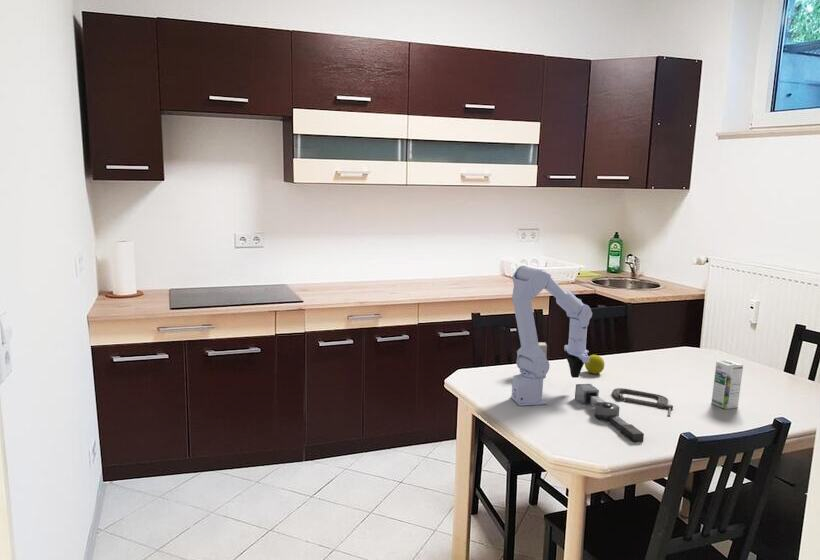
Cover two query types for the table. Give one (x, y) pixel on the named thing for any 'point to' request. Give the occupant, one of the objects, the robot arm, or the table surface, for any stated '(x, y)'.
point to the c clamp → (660, 403)
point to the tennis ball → (595, 364)
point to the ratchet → (615, 419)
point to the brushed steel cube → (585, 393)
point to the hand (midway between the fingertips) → (574, 376)
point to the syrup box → (727, 384)
